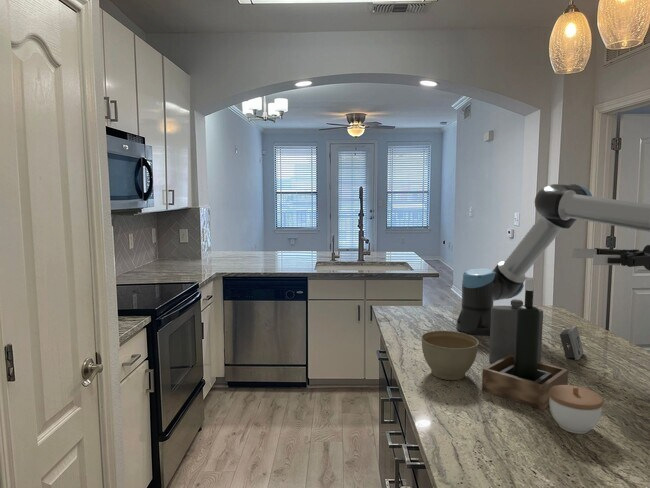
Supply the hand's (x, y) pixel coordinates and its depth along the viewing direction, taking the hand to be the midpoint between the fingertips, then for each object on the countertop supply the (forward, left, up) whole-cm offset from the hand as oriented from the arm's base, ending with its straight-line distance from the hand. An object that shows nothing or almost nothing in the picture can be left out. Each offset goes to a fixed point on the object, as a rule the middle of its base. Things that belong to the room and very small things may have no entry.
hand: (582, 256), depth 130 cm
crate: (-5, -22, -35) cm, 42 cm away
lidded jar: (+11, -33, -35) cm, 49 cm away
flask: (-16, -4, -35) cm, 39 cm away
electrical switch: (-6, +16, -35) cm, 39 cm away
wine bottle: (-5, -22, -34) cm, 41 cm away
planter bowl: (-25, -27, -35) cm, 51 cm away
